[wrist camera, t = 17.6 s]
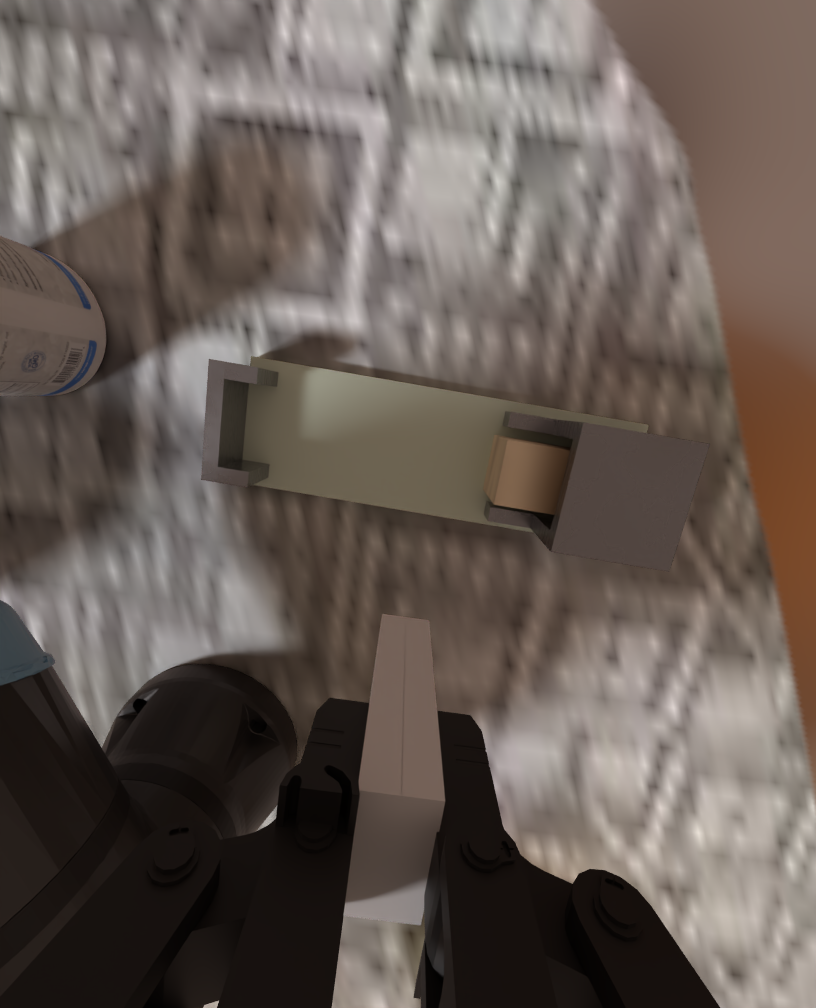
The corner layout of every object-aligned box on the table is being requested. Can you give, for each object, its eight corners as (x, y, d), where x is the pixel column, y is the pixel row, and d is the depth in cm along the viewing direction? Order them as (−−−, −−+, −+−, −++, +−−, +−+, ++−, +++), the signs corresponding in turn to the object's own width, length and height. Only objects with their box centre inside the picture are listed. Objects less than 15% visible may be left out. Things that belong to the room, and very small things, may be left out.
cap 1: (227, 470, 32) (201, 479, 28) (235, 364, 31) (209, 359, 27) (268, 477, 32) (247, 487, 28) (278, 372, 31) (257, 367, 27)
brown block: (605, 453, 31) (639, 462, 26) (591, 507, 32) (621, 526, 27) (494, 434, 31) (507, 440, 26) (482, 489, 32) (493, 504, 27)
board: (245, 480, 33) (240, 482, 32) (256, 357, 31) (251, 356, 30) (608, 542, 34) (614, 546, 33) (642, 424, 32) (648, 424, 31)
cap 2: (483, 514, 32) (500, 543, 26) (505, 411, 31) (529, 413, 24) (617, 536, 33) (669, 571, 26) (645, 435, 31) (709, 443, 24)
